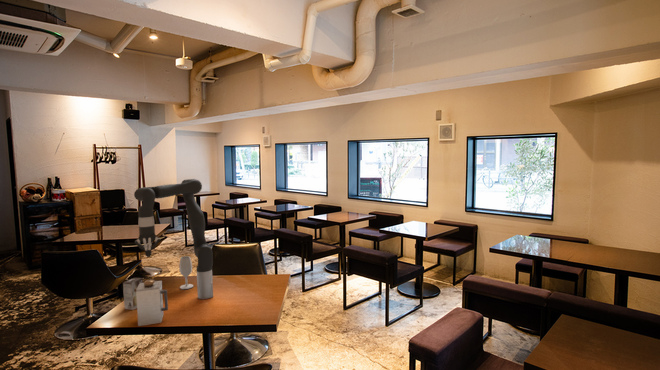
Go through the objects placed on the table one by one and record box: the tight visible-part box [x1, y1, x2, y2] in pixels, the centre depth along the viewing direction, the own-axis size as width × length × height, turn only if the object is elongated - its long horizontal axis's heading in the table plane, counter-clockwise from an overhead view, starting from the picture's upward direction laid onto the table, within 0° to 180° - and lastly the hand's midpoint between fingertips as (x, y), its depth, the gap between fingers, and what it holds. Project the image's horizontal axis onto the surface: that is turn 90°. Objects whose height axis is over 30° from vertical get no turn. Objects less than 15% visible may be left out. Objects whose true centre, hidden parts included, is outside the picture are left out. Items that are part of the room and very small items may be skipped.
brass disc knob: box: [143, 278, 155, 286], centre depth 192 cm, size 8×8×20 cm
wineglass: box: [178, 255, 194, 290], centre depth 241 cm, size 9×9×21 cm
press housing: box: [136, 280, 169, 327], centre depth 193 cm, size 14×11×20 cm
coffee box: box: [122, 277, 144, 310], centre depth 211 cm, size 9×6×16 cm
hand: (148, 256), depth 191 cm, fingers closed
